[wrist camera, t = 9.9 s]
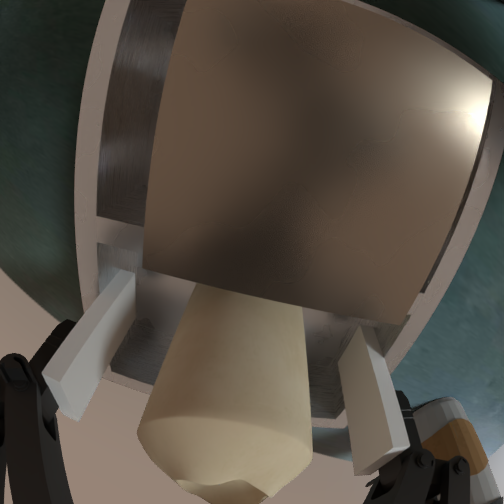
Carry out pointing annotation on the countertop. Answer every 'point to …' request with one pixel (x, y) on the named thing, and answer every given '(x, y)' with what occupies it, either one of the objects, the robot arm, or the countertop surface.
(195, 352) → the candle
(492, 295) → the countertop surface
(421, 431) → the coffee cup
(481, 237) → the countertop surface
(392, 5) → the countertop surface
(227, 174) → the block
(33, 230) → the countertop surface
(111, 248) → the divided tray
